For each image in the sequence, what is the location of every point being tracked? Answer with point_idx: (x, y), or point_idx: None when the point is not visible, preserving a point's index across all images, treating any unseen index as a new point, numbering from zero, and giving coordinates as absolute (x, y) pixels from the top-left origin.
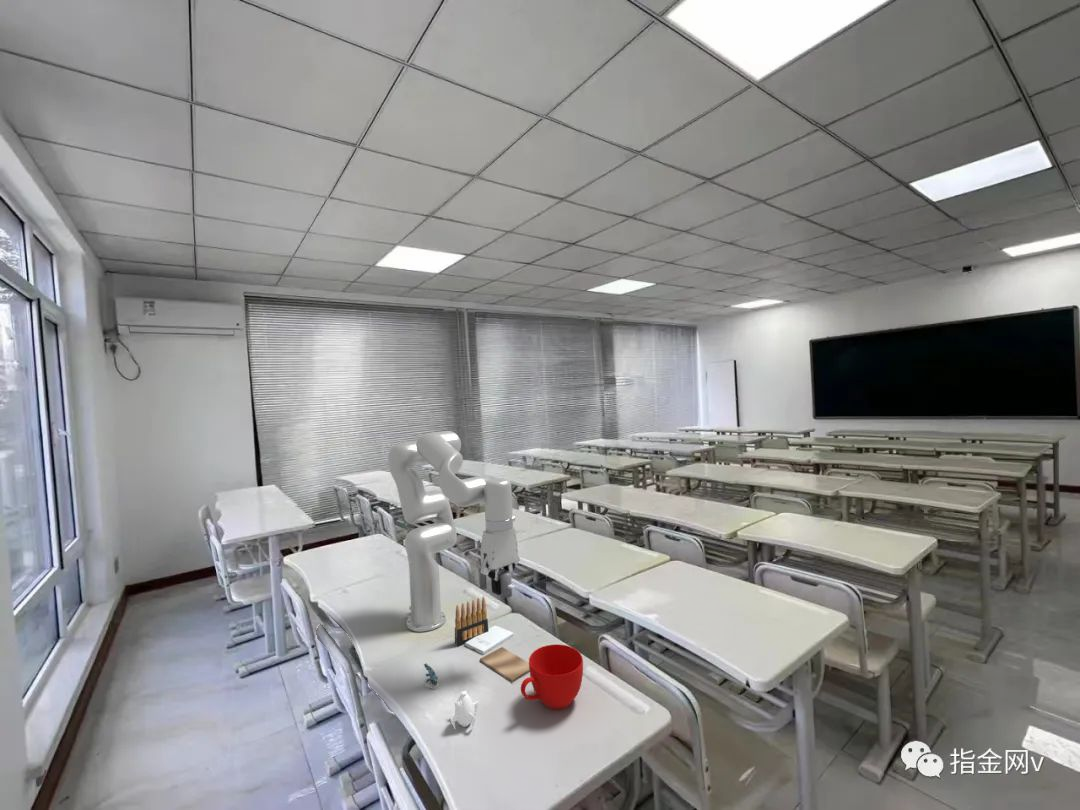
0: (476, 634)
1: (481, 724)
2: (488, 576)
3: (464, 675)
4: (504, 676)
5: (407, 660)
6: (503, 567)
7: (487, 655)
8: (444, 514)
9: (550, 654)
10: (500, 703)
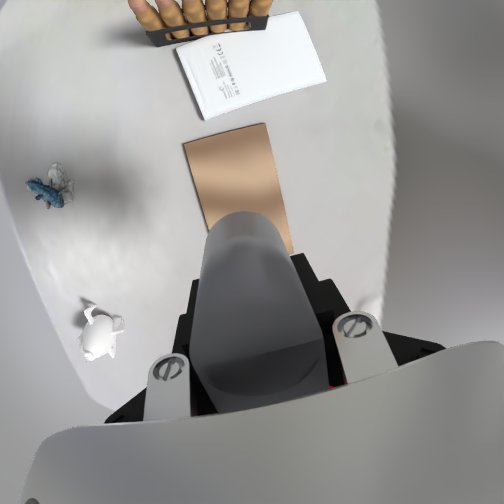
0: (221, 31)
1: (130, 335)
2: (136, 396)
3: (130, 185)
4: None
5: (39, 63)
6: (342, 369)
7: (208, 140)
8: None
9: None
10: (174, 310)
